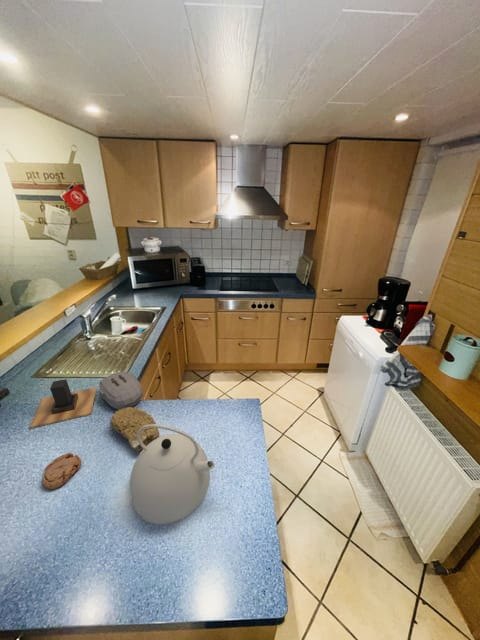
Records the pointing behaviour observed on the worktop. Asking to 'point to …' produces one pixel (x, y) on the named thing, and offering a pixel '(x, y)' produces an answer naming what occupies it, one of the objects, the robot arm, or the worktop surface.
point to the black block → (61, 393)
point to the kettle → (169, 477)
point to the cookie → (60, 470)
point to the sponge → (134, 426)
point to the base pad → (64, 408)
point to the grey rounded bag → (121, 390)
